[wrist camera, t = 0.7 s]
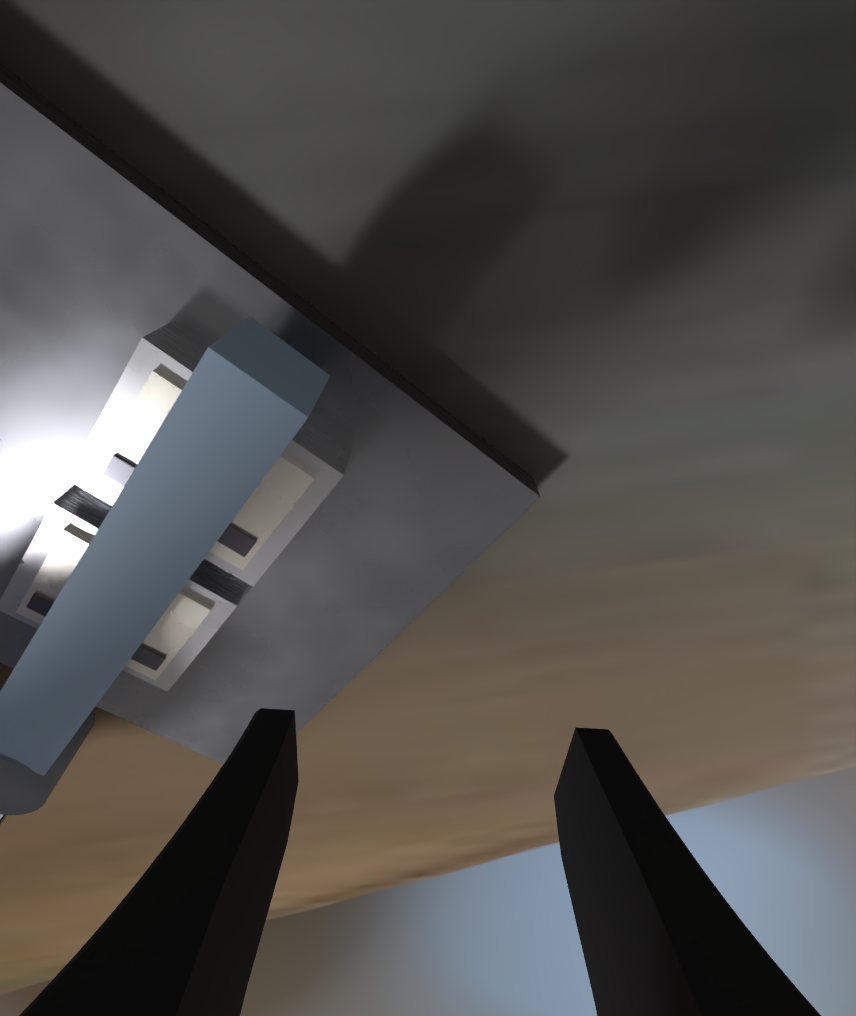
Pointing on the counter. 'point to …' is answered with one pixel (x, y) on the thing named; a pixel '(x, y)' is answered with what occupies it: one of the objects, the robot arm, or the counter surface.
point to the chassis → (142, 409)
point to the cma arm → (150, 548)
